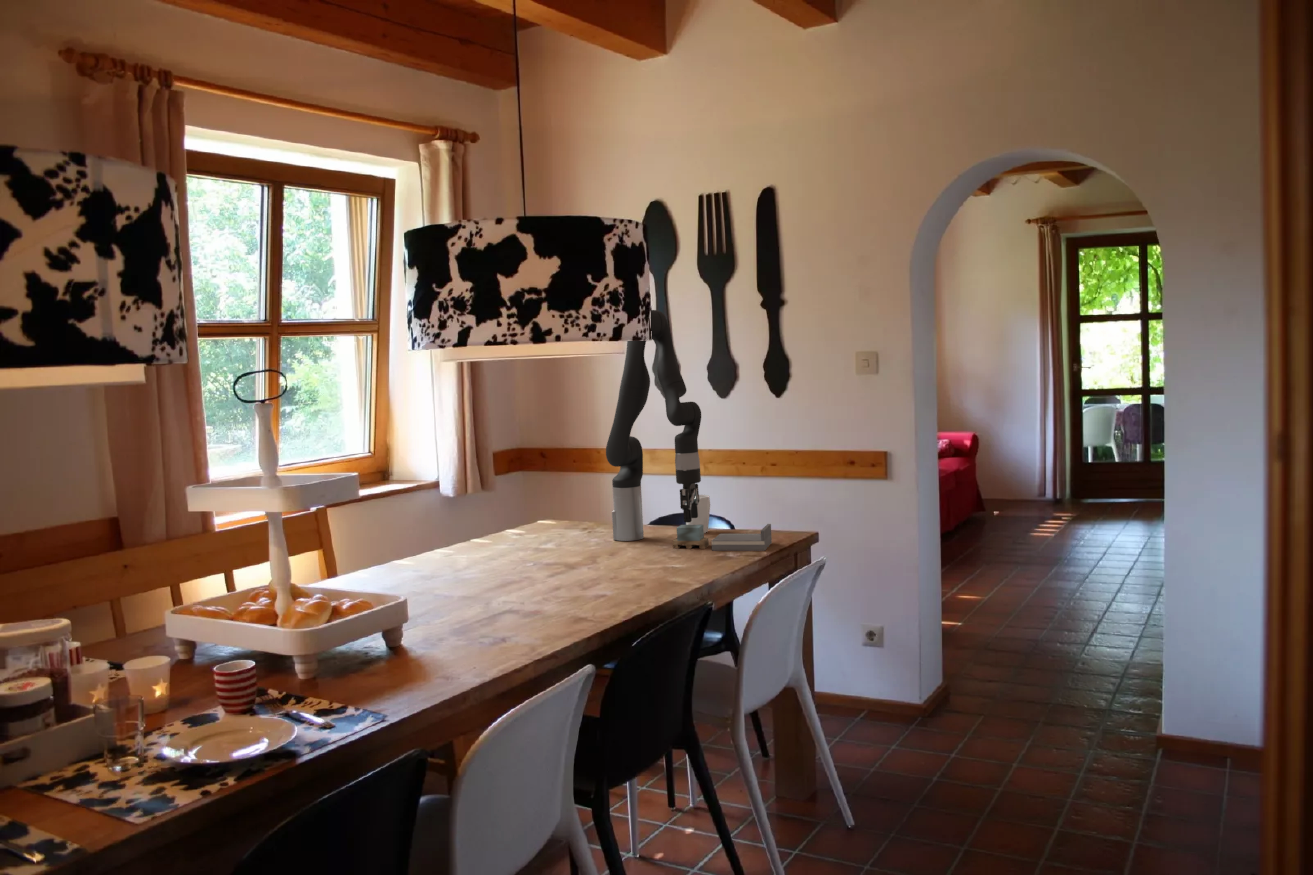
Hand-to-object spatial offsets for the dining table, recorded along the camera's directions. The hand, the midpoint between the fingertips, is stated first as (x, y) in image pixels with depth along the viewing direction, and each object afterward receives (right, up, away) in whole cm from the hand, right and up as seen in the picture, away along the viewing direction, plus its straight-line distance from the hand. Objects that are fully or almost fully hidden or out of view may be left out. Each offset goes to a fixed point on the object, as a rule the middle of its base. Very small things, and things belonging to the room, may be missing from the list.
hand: (691, 520), depth 324 cm
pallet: (0, -8, +1) cm, 8 cm away
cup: (+3, -6, +26) cm, 27 cm away
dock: (+15, -8, -4) cm, 18 cm away
